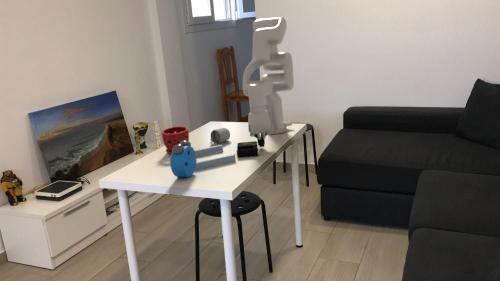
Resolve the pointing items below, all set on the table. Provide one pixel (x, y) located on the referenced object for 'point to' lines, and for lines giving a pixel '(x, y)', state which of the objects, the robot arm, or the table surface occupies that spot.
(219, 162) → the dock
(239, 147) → the battery charger
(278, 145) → the table surface
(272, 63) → the robot arm
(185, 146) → the alarm clock
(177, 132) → the plant pot
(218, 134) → the ceramic mug
